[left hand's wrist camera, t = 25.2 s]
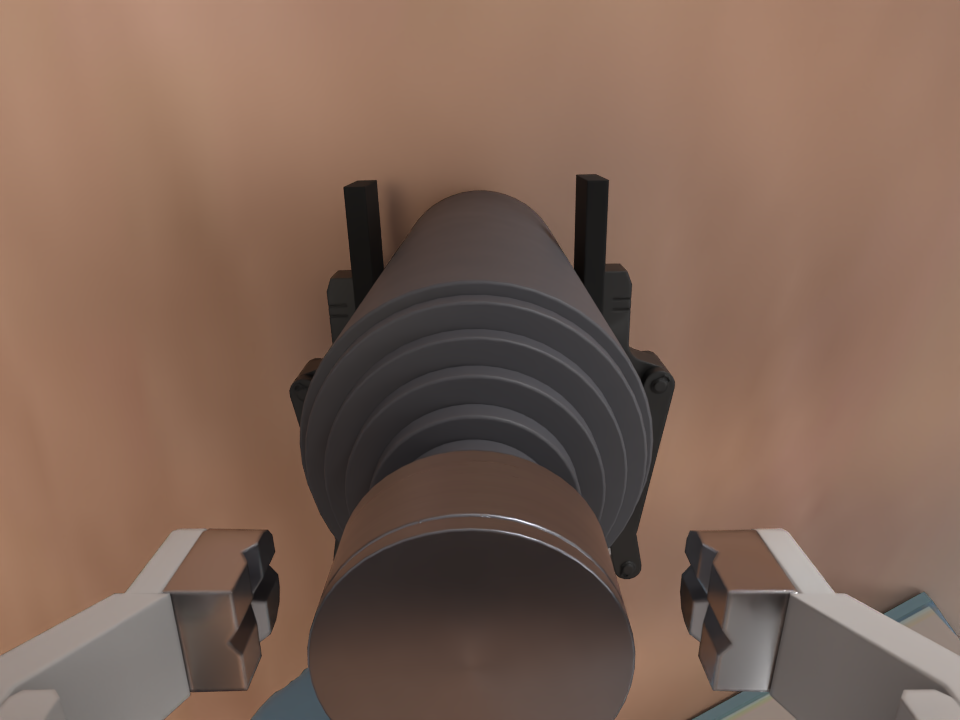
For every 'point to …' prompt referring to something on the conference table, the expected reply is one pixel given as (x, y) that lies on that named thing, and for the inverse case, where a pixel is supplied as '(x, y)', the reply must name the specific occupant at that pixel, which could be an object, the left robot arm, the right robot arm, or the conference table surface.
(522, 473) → the cap
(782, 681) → the left robot arm
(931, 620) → the book
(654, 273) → the conference table surface
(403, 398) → the bottle
